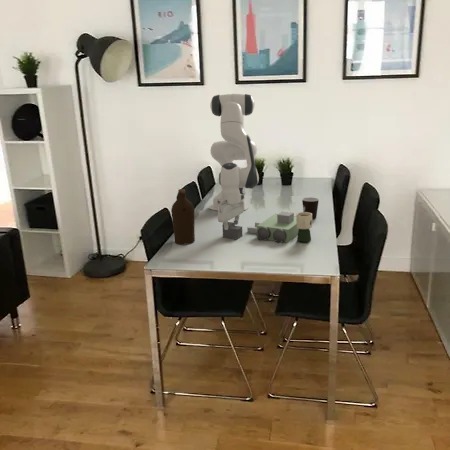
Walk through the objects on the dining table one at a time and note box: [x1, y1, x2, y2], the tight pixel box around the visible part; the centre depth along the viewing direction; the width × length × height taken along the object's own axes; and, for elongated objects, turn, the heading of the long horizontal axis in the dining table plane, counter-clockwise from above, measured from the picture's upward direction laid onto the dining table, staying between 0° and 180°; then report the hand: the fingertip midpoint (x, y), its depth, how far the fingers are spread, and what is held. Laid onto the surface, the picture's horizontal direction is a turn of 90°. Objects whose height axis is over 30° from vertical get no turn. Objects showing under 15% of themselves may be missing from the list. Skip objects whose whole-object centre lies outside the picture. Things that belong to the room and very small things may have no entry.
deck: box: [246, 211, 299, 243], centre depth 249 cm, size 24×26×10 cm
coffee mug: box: [301, 196, 320, 220], centre depth 272 cm, size 12×9×10 cm
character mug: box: [295, 211, 313, 243], centre depth 234 cm, size 11×7×13 cm, turn 179°
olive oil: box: [170, 188, 196, 246], centre depth 238 cm, size 11×11×25 cm
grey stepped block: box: [221, 221, 244, 240], centre depth 245 cm, size 8×5×6 cm, turn 62°
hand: (231, 226), depth 244 cm, fingers open, 8 cm apart
